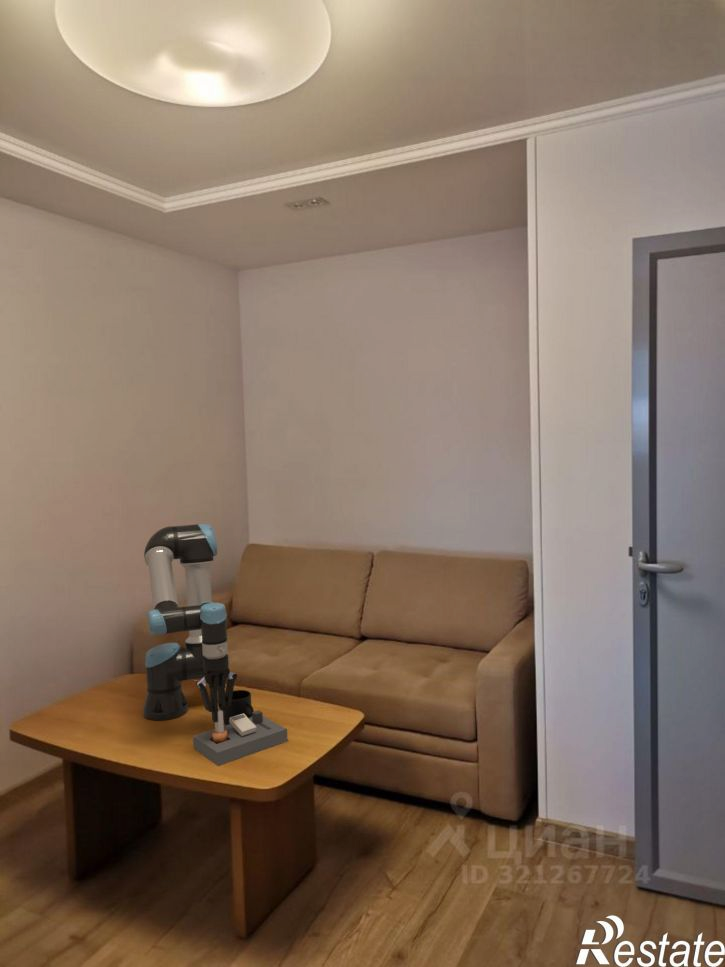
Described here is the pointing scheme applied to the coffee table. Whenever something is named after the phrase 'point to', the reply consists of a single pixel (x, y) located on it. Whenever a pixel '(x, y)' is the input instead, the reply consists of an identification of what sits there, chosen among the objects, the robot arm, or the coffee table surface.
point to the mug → (239, 705)
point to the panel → (240, 742)
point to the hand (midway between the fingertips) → (219, 731)
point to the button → (219, 736)
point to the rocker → (242, 724)
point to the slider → (257, 716)
